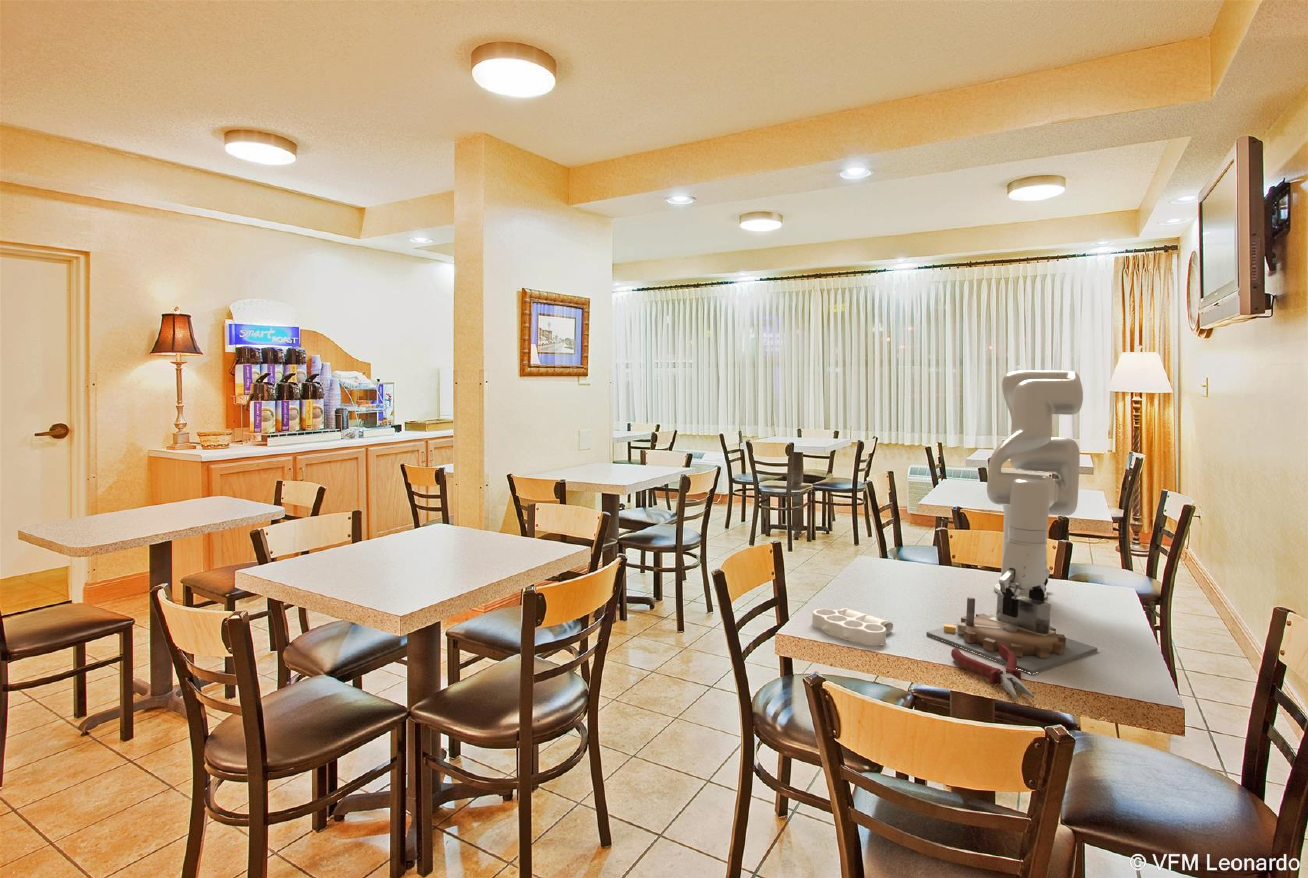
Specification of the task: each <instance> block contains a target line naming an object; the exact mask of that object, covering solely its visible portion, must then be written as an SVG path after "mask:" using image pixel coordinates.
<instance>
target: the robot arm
mask: <svg viewBox="0 0 1308 878" xmlns="http://www.w3.org/2000/svg"><path fill="white" fill-rule="evenodd" d="M1001 383H1002V384H1001V386H1002V387H1001V389H1002V393H1003V394H1002V395H1003V397H1004V401H1005V404H1006V407H1007V408H1008V411H1009V414H1010V418H1011V421H1010V422H1011V426H1010V427H1011V428H1010V429H1011V430H1010V435H1009V436H1008V437H1007V438H1006V439H1004V440H1003V441H1001V442H1000V444H999V445H998V446H997V447H996V448H995V449H994V451H993V453H992V454H991V457H990V459H989V462H988V469H987V471H988V472H987V480H986V481H987V482H986V483H987V484H986V493H987V498H988V500H989V501H990V502H991V503H993V504H995V505H999V506H1002V507H1003V508H1002V509H1003V532H1002V533H1003V535H1002V536H1003V538H1002V557H1001V573H1000V575H1001V576H1000V577H999V580H998V582H997V583H996V584H994V586H993V590H994V591H995V592H996V593H997V594H998V592H1002V596H1003V610H1002V613H1003V614H1005V615H1008V616H1011V617H1014V618H1016V617H1018V605H1019V599H1017V597H1018V595H1020V596H1024V597H1028V598H1031V599H1035V600H1038V601H1042V602H1045V599H1046V598H1047V597H1048V592H1047V587H1046V586H1047V584H1048V583H1049V576H1050V573H1051V570H1050V569H1049V568H1047V567H1048V558H1047V556H1048V555H1047V552H1048V551H1047V545H1048V532H1049V516H1060V517H1061V516H1062V517H1065V516H1066V517H1068V516H1071V515H1073V514H1074V513H1075V512H1076V510H1077V507H1078V500H1079V499H1078V498H1079V485H1080V484H1079V480H1080V458H1081V457H1080V448H1079V444H1078V443H1077V442H1076V441H1075V440H1074V439H1072V438H1069V437H1068V438H1067V437H1056V436H1055V437H1054V436H1053V415H1063V416H1064V415H1065V416H1066V415H1067V416H1069V415H1071V416H1073V415H1076V414H1078V413H1079V412H1080V411H1081V409H1082V406H1083V401H1084V390H1083V385H1082V382H1081V378H1080V376H1079V374H1078V372H1076V371H1073V370H1041V369H1040V370H1039V369H1037V370H1035V369H1034V370H1033V369H1032V370H1030V369H1029V370H1016V371H1010V372H1008V373H1006V374H1004V376H1003V378H1002V382H1001ZM1008 460H1010V465H1011V467H1012V468H1013V469H1015V470H1016V471H1020V472H1027V473H1018V472H1002V467H1003V464H1005V463H1006V462H1007V461H1008ZM1028 472H1029V473H1028ZM1030 473H1038V474H1030ZM1039 473H1040V474H1039ZM1045 474H1054V475H1057V476H1058V478H1052V477H1051V476H1049V475H1045Z"/></svg>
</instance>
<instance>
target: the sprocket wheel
mask: <svg viewBox="0 0 1308 878" xmlns="http://www.w3.org/2000/svg"><path fill="white" fill-rule="evenodd" d="M966 598H967V599H966V612H965V613H966V615H965V616H964V615H963V616H962V617H961V618H960V622H957V624H958V627H957V632H958V634H963V635H964V640H965V641H967V642H968V643H977V644H979V645H982V646H983V649H985V650H989V651H992V652H993V651H995V650H998V651H999V646H1000V645H1003V646H1006V647H1007V648H1008V649H1009V650H1011V651H1012V652H1013V653H1014V654H1015V656H1018V657H1023V655H1036V656H1038V657H1039V658H1047V657H1049V653H1052V652H1053V653H1056V654H1060V655H1061V654H1062V653H1064V647H1065V646H1066V638H1067V637H1066V635H1065V634H1060V633H1057V629H1056V628H1055V627H1053V626H1050V627H1049V633H1048V634H1040V633H1036V632H1033V631H1029V630H1026V629H1023V628H1020V627H1017V626H1014V625H1010V624H1007V623H1004V622H1001V621H998V620H997V619H996V615H995V616H988V615H987V614H986V613H976V614H975V611H976V610H975V609H976V607H975V606H976V598H975V597H972V596H969V597H966Z"/></svg>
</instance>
